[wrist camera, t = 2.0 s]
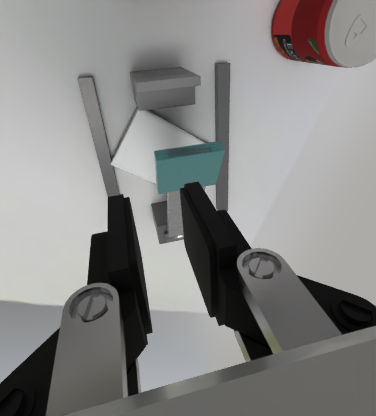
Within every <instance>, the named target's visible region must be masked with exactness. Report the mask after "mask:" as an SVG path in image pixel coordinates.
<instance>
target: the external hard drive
mask: <svg viewBox="0 0 376 416" xmlns="http://www.w3.org/2000/svg"><path fill="white" fill-rule="evenodd" d="M204 143H205V142H204V141H202V140H200V139H198V138H196V137H195V136H193V135H191V134H189V133H187V132H186V131H184V130H182V129H180V128H179V127H177V126H175V125H173V124H171V123H170V122H168V121H166V120H164V119H162V118H160V117H159V116H157V115H155V114H154V113H152V112H150V111H148V110H144V111H139V110H138V107H137V108H136V110H135V112H134V114H133V116H132V118H131V120H130V122H129V124H128V126H127V128H126V131H125V133H124V135H123V137H122V139H121V141H120V143H119V145H118V147H117V149H116V151H115V153H114V155H113V157H112V159H111V163H110V164H111V165H112V166H115V167H117V168H119V169H122V170H124V171H126V172H129V173H131V174H133V175H136V176H138V177H140V178H143V179H145V180H147V181H150V182H152V183H154V184H156V173H155V158H154V151H157V150H163V149H170V148H177V147H184V146H190V145H197V144H204Z"/></svg>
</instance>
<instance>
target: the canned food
mask: <svg viewBox="0 0 376 416" xmlns="http://www.w3.org/2000/svg"><path fill="white" fill-rule="evenodd" d="M272 38H273V42H274V45H275V47H276V49H277V50H278V51H279V52H280V53H281V55H282V56H284V57H285V58H287V59H290V60H295V61H302V62H309V63H315V64H322V65H329V66H336V67H346V68H352V67H360V66H363V65H365V64H368V63H369V62H371V61H373V60H374V59H376V0H282V1H281V2H280V3H279V5H278V7H277V9H276V12H275V15H274V18H273V23H272Z"/></svg>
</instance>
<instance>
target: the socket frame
mask: <svg viewBox="0 0 376 416" xmlns="http://www.w3.org/2000/svg"><path fill="white" fill-rule="evenodd" d="M130 74H131V81H132V87H133V93H134V99H135V102H136V104H137V107H138V110H139V111H144V110H152V109H160V108H169V107H177V106H185V105H193V104H195V86H199V85H201V78H200V76H199V75H197V74H195V73H193V72H190V71H188V70H186V69H184V68H182V67H178V68H167V69H157V70H147V71H137V72H130ZM78 82H79V86H80V90H81V94H82V98H83V102H84V106H85V109H86V113H87V117H88V121H89V125H90V129H91V133H92V137H93V141H94V145H95V149H96V152H97V156H98V160H99V164H100V168H101V172H102V176H103V180H104V184H105V188H106V191H107V195H108V197H110V196H116V195H119V190H118V186H117V182H116V177H115V173H114V168H113V166H112V165H111V164H110V163H111V155H110V151H109V147H108V142H107V138H106V133H105V129H104V125H103V120H102V116H101V112H100V107H99V103H98V98H97V94H96V90H95V85H94V81H93V77H92V76H87V77H78ZM229 102H230V63H218V64H215V123H216V142H218V141H222V143H223V146H224V148H225V153H224V157H223V160H222V164H221V167H220V171H219V175H218V178H217V182H216V209H217V210H223V209H224V210H226V211H228V162H229ZM151 205H152V212H153V218H154V223H155V227H156V231H157V235H158V239H159V244H163V243H168V242H166V241H165V236H164V234H165V233H168V232H167V201H166V202H160V203H155V204H151ZM181 240H183V239H181ZM176 241H178V240H176ZM171 242H173V241H171Z"/></svg>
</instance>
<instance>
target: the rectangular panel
mask: <svg viewBox="0 0 376 416" xmlns="http://www.w3.org/2000/svg"><path fill="white" fill-rule="evenodd" d="M224 153H225V148H224V146H223V143H222V141H218V142H211V143H204V144H197V145H190V146H184V147H177V148H170V149H163V150H157V151H154V158H155V173H156V186H157V190H158V194H162V193H167V232H168V233H165V234H164V236H165V241H166V242H171V241H176V240H181V239H184V233H183V222H182V211H181V200H180V188H184V184H186V183H192V182H199V183H200V184H201V186H202V188H203V189H204V190H205V186H208V185H214V184H216V182H217V178H218V175H219V171H220V167H221V164H222V160H223V157H224Z"/></svg>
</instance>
